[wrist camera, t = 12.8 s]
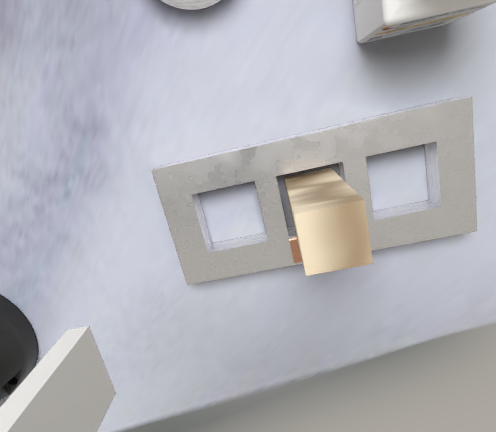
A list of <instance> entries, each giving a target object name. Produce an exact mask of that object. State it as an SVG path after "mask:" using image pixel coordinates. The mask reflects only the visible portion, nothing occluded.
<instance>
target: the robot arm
mask: <svg viewBox="0 0 496 432" xmlns="http://www.w3.org/2000/svg"><path fill="white" fill-rule="evenodd" d="M37 354H38V348H37V341H36V337H35V334H34V332H33V330H32V327H31V326H30V324H29V322H28V321H27V319H26V318H25V316H24V315H23V314H22V313H21V312H20V311H19V310H18V309H17V308H16V307H15V306H14V305H13V304H12V303H11V302H9V301H8V300H7V299H5V298H4V297H2V296H1V295H0V400H2V399H3V398H5V397H7V396H8V395H10V394H11V393H12V392H13V391H14V392H13V393H12V394H11V396H10V397H9V398H8V399H7V400H6V401H5V403H4V404H3V405H2V406H1V407H0V432H97V430H98V428H99V426H100V424H101V422H102V420H103V418H104V416H105V414H106V412H107V410H108V408H109V406H110V404H111V402H112V400H113V398H114V396H115V394H116V392H115V389H114V387H113V384H112V382H111V379H110V377H109V374H108V372H107V369H106V367H105V364H104V362H103V359H102V357H101V354H100V352H99V349H98V347H97V344H96V342H95V340H94V337H93V335H92V332H91V330H90V327H89V326H87V327H81V328H75V329H70V330H67V331H66V332H65V333H64V334H63V335H62V336H61V338H60V339H59V340H58V341H57V342H56V343H55V345H54V346H53V347H52V348H51V349H50V350H49V352H48V353H47V354H46V355H45V356H44V357H43V359H42V360H41V361H40V362H39V363H38V364H37V365H36V367H35V368H34V366H35V364H36V360H37ZM33 368H34V369H33Z"/></svg>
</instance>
